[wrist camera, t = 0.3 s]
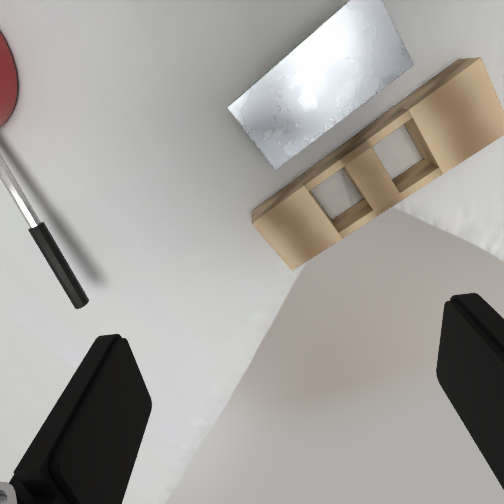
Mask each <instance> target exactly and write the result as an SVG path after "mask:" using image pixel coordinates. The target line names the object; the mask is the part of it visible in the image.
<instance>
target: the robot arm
mask: <svg viewBox="0 0 504 504" xmlns="http://www.w3.org/2000/svg"><path fill="white" fill-rule="evenodd" d="M436 373H437V378H438V381H439V383H440V385H441V386H442V388H443V390H444V392H445V393H446V395H447V397H448V398H449V400H450V402H451V403H452V405H453V407H454V408H455V409H456V411H457V413H458V415H459V416H460V418H461V420H462V421H463V423H464V425H465V426H466V428H467V430H468V431H469V433H470V435H471V436H472V438H473V440H474V441H475V443H476V445H477V446H478V448H479V450H480V451H481V453H482V454H483V456H484V458H485V459H486V461H487V463H488V464H489V466H490V468H491V469H492V471H493V473H494V474H495V476H496V478H497V479H498V481H499V483H500V484H501V486H502V488H503V489H504V319H503V318H502V317H501V316H500V315H499V314H498V313H497V312H496V311H495V310H494V309H493V308H492V307H491V306H490V305H489V304H488V303H487V302H486V301H484V300H483V299H482V297H481V296H479V295H478V294H476V293H469V294H461V295H454V296H452V297H451V299H450V301H447V302H446V303H445V305H444V312H443V320H442V328H441V337H440V345H439V353H438V361H437V369H436ZM151 408H152V401H151V397H150V395H149V392H148V390H147V388H146V385H145V383H144V380H143V378H142V375H141V373H140V370H139V368H138V365H137V363H136V360H135V358H134V356H133V353H132V351H131V348H130V346H129V343H128V341H127V339H125V338H122V337H121V336H120V335H119V334H112V335H104V336H99V337H97V338H96V340H95V341H94V343H93V345H92V346H91V348H90V349H89V351H88V353H87V354H86V356H85V357H84V359H83V361H82V362H81V364H80V366H79V367H78V369H77V370H76V372H75V374H74V375H73V377H72V378H71V380H70V382H69V383H68V385H67V387H66V388H65V390H64V391H63V393H62V395H61V396H60V398H59V399H58V401H57V403H56V404H55V406H54V408H53V409H52V411H51V412H50V414H49V416H48V417H47V419H46V420H45V422H44V424H43V425H42V427H41V429H40V430H39V432H38V433H37V435H36V437H35V438H34V440H33V441H32V443H31V445H30V446H29V448H28V450H27V451H26V453H25V454H24V456H23V458H22V459H21V461H20V462H19V464H18V466H17V467H16V469H15V471H14V473H15V474H14V476H13V477H12V479H11V480H10V482H9V483H7V482H0V504H122V501H123V498H124V495H125V492H126V489H127V485H128V482H129V479H130V476H131V473H132V470H133V466H134V463H135V460H136V457H137V454H138V451H139V448H140V444H141V441H142V438H143V435H144V432H145V429H146V426H147V422H148V419H149V416H150V413H151Z"/></svg>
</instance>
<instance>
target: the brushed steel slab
mask: <svg viewBox="0 0 504 504" xmlns="http://www.w3.org/2000/svg"><path fill="white" fill-rule="evenodd" d="M413 65H414V63H413V61H412V59H411V57H410V55H409V53H408V51H407V49H406V47H405V45H404V43H403V41H402V39H401V37H400V35H399V33H398V31H397V29H396V27H395V25H394V23H393V21H392V19H391V17H390V15H389V13H388V11H387V9H386V7H385V5H384V3H383V1H382V0H349V1H348V2H347V3H346V4H345V5H343V6H342V7H341V8H340V9H339V10H338V11H337V12H335V13H334V14H333V15H332V16H331V17H330V18H329V19H327V20H326V21H325V22H324V23H323V24H322V25H321V26H319V27H318V28H317V29H316V30H315V31H314V32H313V33H311V34H310V35H309V36H308V37H307V38H306V39H305V40H303V41H302V42H301V43H300V44H299V45H298V46H297V47H296V48H294V49H293V50H292V51H291V52H290V53H289V54H288V55H286V56H285V57H284V58H283V59H282V60H281V61H280V62H278V63H277V64H276V65H275V66H274V67H273V68H272V69H270V70H269V71H268V72H267V73H266V74H265V75H264V76H262V77H261V78H260V79H259V80H258V81H257V82H256V83H254V84H253V85H252V86H251V87H250V88H249V89H248V90H246V91H245V92H244V93H243V94H242V95H241V96H240V97H238V98H237V99H236V100H235V101H234V102H233V103H232V104H231V105H230V106H229V107H228V109H229V110H230V111H231V113H232V114H233V115H234V117H235V118H236V119H237V121H238V122H239V123H240V125H241V126H242V127H243V129H244V130H245V131H246V132H247V134H248V135H249V136H250V138H251V139H252V140H253V142H254V143H255V144H256V146H257V147H258V148H259V150H260V151H261V152H262V154H263V155H264V156H265V158H266V159H267V160H268V162H269V163H270V164H271V166H272V167H273V168H274V169H275V170H277V169H278V168H279V167H280V166H282V165H283V164H284V163H286V162H287V161H288V160H290V159H291V158H292V157H294V156H295V155H296V154H298V153H299V152H300V151H301V150H303V149H304V148H305V147H307V146H308V145H309V144H311V143H312V142H313V141H315V140H316V139H317V138H319V137H320V136H321V135H322V134H324V133H325V132H326V131H328V130H329V129H330V128H332V127H333V126H334V125H336V124H337V123H338V122H340V121H341V120H342V119H343V118H345V117H346V116H347V115H349V114H350V113H351V112H353V111H354V110H355V109H357V108H358V107H359V106H361V105H362V104H363V103H364V102H366V101H367V100H368V99H370V98H371V97H372V96H374V95H375V94H376V93H378V92H379V91H380V90H382V89H383V88H384V87H385V86H387V85H388V84H389V83H391V82H392V81H393V80H395V79H396V78H397V77H399V76H400V75H401V74H403V73H404V72H405V71H406V70H408V69H409V68H410V67H412V66H413Z"/></svg>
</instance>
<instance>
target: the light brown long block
mask: <svg viewBox="0 0 504 504" xmlns="http://www.w3.org/2000/svg"><path fill="white" fill-rule="evenodd" d="M403 124H404V125H405V126H406V128H407V130H408V132H409V134H410V136H411V137H412V139H413V141H414V143H415V145H416V146H417V148H418V150H419V152H420V154H421V156H422V157H423V160H421V161H420V162H418V163H417V164H415V165H414V166H412V167H411V168H409V169H408V170H406V171H405V172H403V173H402V174H400V175H399V176H397V177H396V178H394V179H393V180H391V178H390V176H389V175H388V173H387V171H386V170H385V168H384V166H383V165H382V163H381V161H380V160H379V158H378V157H377V155H376V153H375V152H374V150H373V148H372V146H374V145H375V144H376V143H378V142H379V141H381V140H382V139H383V138H385V137H386V136H388V135H389V134H390V133H392V132H393V131H395V130H396V129H397V128H399V127H400V126H402V125H403ZM503 135H504V111H503V109H502V106H501V104H500V101H499V99H498V97H497V94H496V92H495V89H494V87H493V85H492V82H491V80H490V77H489V75H488V73H487V70H486V68H485V66H484V63H483V61H482V58H467V59H458V60H457V61H455V62H454V63H453V64H451V65H450V66H449V67H447V68H446V69H445V70H443V71H442V72H441V73H439V74H438V75H436V76H435V77H434V78H432V79H431V80H430V81H428V82H427V83H426V84H424V85H423V86H422V87H420V88H419V89H417V90H416V91H415V92H413V93H412V94H411V95H409V96H408V97H407V98H405V99H404V100H403V101H401V102H400V103H398V104H397V105H396V106H394V107H393V108H392V109H390V110H389V111H388V112H386V113H385V114H384V115H382V116H381V117H379V118H378V119H377V120H375V121H374V122H373V123H371V124H370V125H369V126H367V127H366V128H365V129H363V130H362V131H360V132H359V133H358V134H356V135H355V136H354V137H352V138H351V139H350V140H348V141H347V142H345V143H344V144H343V145H341V146H340V147H339V148H337V149H336V150H335V151H333V152H332V153H331V154H329V155H328V156H326V157H325V158H324V159H322V160H321V161H320V162H318V163H317V164H316V165H314V166H313V167H312V168H310V169H309V170H307V171H306V172H305V173H303V174H302V175H301V176H299V177H298V178H297V179H295V180H294V181H293V182H291V183H290V184H288V185H287V186H286V187H284V188H283V189H282V190H280V191H279V192H278V193H276V194H275V195H274V196H272V197H271V198H269V199H268V200H267V201H265V202H264V203H263V204H261V205H260V206H259V207H257V208H256V209H255V210H253V211H252V224H253V226H254V227H255V228H256V229H257V230H258V231H259V233H260V234H261V235H262V236H263V237H264V239H265V240H266V241H267V242H268V243H269V244H270V246H271V247H272V248H273V249H274V250H275V251H276V253H277V254H278V255H279V256H280V257H281V259H282V260H283V261H284V262H285V263H286V264H287V266H288V267H289V268H290V269H291V270H292V271H293V270H294V269H296V268H297V267H299V266H300V265H302V264H304V263H305V262H307V261H308V260H310V259H311V258H313V257H314V256H316V255H317V254H319V253H321V252H322V251H324V250H325V249H327V248H328V247H330V246H331V245H333V244H335V243H336V242H337V241H339V240H341V239H342V238H344V237H346V236H347V235H348V234H350V233H352V232H353V231H355V230H356V229H358V228H360V227H361V226H363V225H364V224H366V223H367V222H369V221H371V220H372V219H374V218H375V217H376V216H378V215H380V214H381V213H383V212H385V211H386V210H388V209H389V208H391V207H392V206H394V205H395V204H397V203H399V202H400V201H402V200H403V199H405V198H406V197H408V196H409V195H411V194H413V193H414V192H416V191H417V190H419V189H420V188H422V187H423V186H425V185H427V184H428V183H430V182H431V181H433V180H434V179H436V178H438V177H439V176H441V175H442V174H444V173H445V172H447V171H448V170H450V169H452V168H453V167H455V166H456V165H458V164H459V163H461V162H462V161H464V160H466V159H467V158H469V157H470V156H472V155H473V154H475V153H476V152H478V151H480V150H481V149H483V148H484V147H486V146H487V145H489V144H490V143H492V142H494V141H495V140H497V139H498V138H500V137H501V136H503ZM341 168H344V170H345V171H346V173H347V174H348V176H349V177H350V179H351V180H352V182H353V183H354V185H355V186H356V188H357V189H358V191H359V192H360V194H361V195H362V197H363V198H364V199H363V200H361V201H360V202H358V203H357V204H355V205H354V206H352V207H351V208H349V209H348V210H346V211H345V212H343V213H342V214H340V215H339V216H337V217H336V218H334V219H333V220H331V218H330V217H329V216H328V214H327V213H326V212H325V210H324V209H323V207H322V206H321V205H320V203H319V202H318V201H317V199H316V198H315V197H314V195H313V194H312V192H311V191H310V190H312V189H313V188H315V187H316V186H317V185H319V184H320V183H322V182H323V181H324V180H326V179H327V178H329V177H330V176H331V175H333V174H334V173H336V172H337V171H339V170H340V169H341Z"/></svg>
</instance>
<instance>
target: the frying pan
mask: <svg viewBox="0 0 504 504" xmlns="http://www.w3.org/2000/svg"><path fill="white" fill-rule="evenodd" d="M17 87H18V84H17V75H16V69H15V65H14V62H13V58H12V55H11V53H10V50H9V48H8V46H7V44H6V42H5V39H4V38H3V36H2V35H1V33H0V126H1V125H2V124H4V123H5V122H6V121H7V119H8V117H9V116H10V114H11V113H12V111H13V108H14V105H15V102H16V99H17ZM0 178H1V180H2V182H3V183H4V185H5V187H6V188H7V190H8V192H9V193H10V195H11V197H12V198H13V200H14V202H15V203H16V205H17V207H18V208H19V210H20V212H21V213H22V215H23V217H24V218H25V220H26V222H27V223H28V225H29V227H30V229H29V232H30V234H31V235H32V237H33V239H34V240H35V242H36V244H37V245H38V247H39V249H40V250H41V252H42V254H43V255H44V257H45V259H46V260H47V262H48V264H49V265H50V267H51V269H52V270H53V272H54V274H55V275H56V277H57V279H58V280H59V282H60V284H61V285H62V287H63V289H64V290H65V292H66V294H67V295H68V297H69V299H70V300H71V302H72V304H73V305H74V307H75V308H76V309H79V308H82V307H84V306H85V305H86V304H87V303H88V302H89V299H88V297H87V296H86V294H85V292H84V290H83V289H82V287H81V285H80V284H79V282H78V280H77V278H76V277H75V275H74V273H73V272H72V270H71V268H70V266H69V265H68V263H67V261H66V260H65V258H64V256H63V254H62V253H61V251H60V249H59V248H58V246H57V244H56V242H55V241H54V239H53V237H52V236H51V234H50V232H49V230H48V229H47V227H46V225H45V224H44V222H40V220H39V218H38V217H37V215H36V213H35V211H34V210H33V208H32V206H31V205H30V203H29V201H28V199H27V198H26V196H25V194H24V193H23V191H22V189H21V188H20V186H19V184H18V182H17V181H16V179H15V177H14V176H13V174H12V172H11V170H10V169H9V167H8V165H7V164H6V162H5V160H4V158H3V157H2V155H1V153H0Z"/></svg>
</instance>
